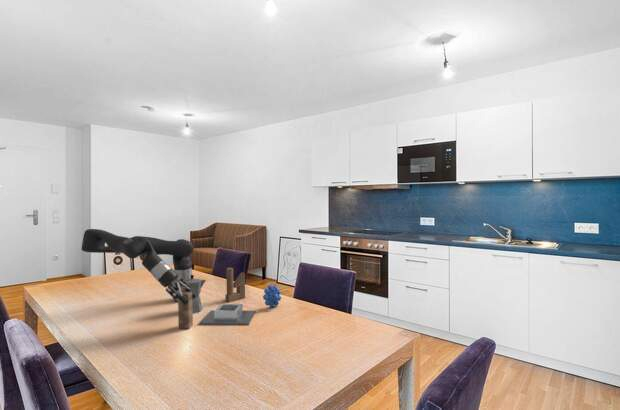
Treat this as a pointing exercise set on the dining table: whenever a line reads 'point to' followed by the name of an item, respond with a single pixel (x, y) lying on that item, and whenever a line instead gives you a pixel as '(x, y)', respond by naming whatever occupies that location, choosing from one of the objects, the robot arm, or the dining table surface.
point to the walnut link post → (185, 312)
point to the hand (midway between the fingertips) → (190, 300)
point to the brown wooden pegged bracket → (235, 286)
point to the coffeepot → (196, 292)
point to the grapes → (272, 296)
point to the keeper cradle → (228, 316)
